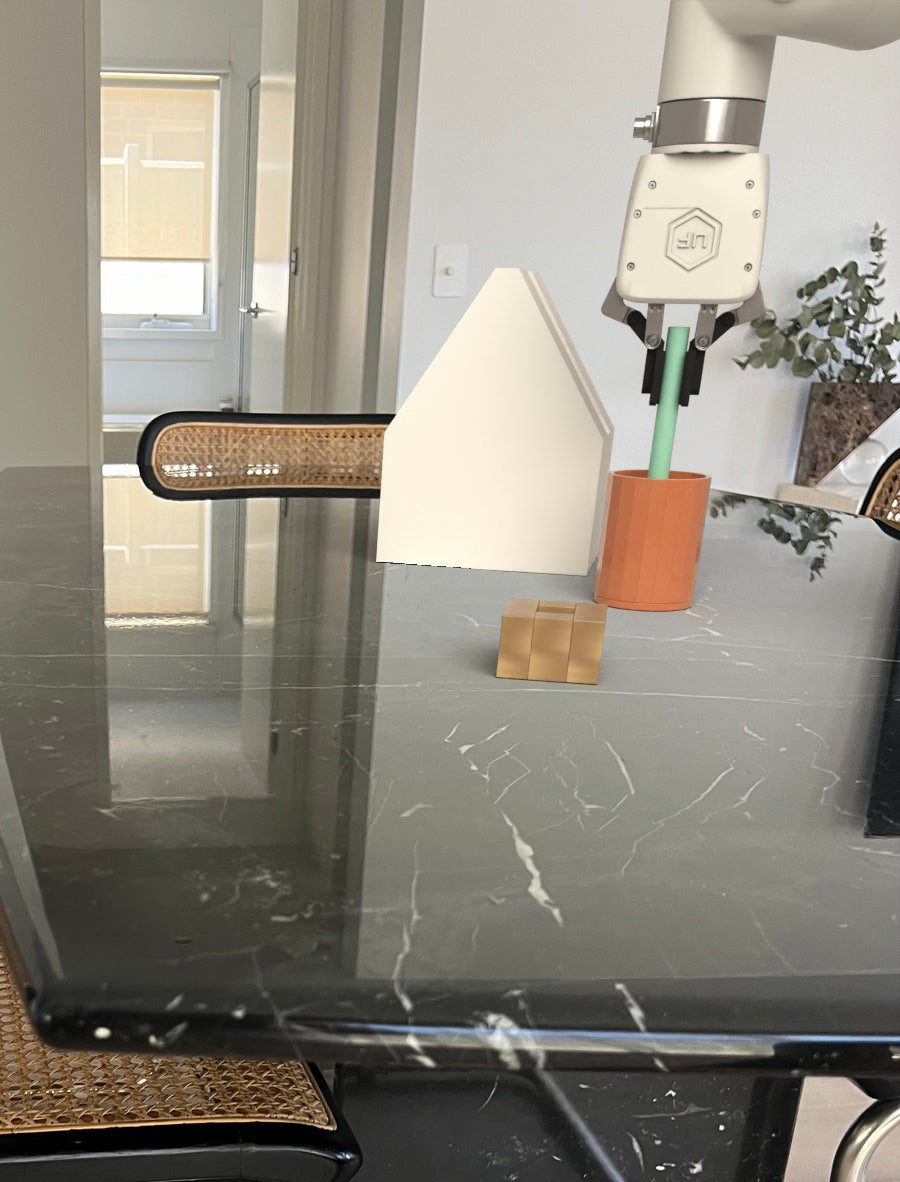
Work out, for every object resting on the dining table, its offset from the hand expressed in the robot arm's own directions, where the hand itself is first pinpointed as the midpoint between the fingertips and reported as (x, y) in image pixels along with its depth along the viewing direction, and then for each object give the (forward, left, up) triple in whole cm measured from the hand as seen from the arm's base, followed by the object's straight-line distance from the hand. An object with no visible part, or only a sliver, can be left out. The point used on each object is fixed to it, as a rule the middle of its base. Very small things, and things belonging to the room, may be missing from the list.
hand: (668, 403), depth 114 cm
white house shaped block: (+14, -20, -15) cm, 29 cm away
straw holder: (+6, +28, -15) cm, 32 cm away
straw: (0, 0, -9) cm, 9 cm away
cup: (0, 0, -15) cm, 15 cm away
